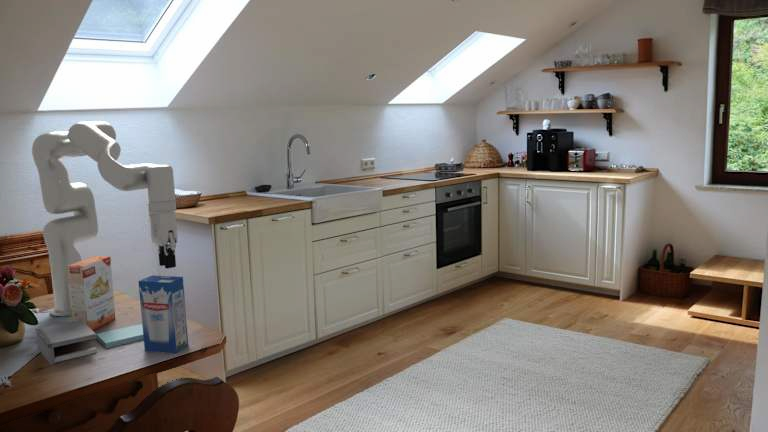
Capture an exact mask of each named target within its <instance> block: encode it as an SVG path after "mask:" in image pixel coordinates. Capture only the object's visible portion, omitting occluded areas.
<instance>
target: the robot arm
mask: <svg viewBox="0 0 768 432" xmlns="http://www.w3.org/2000/svg"><path fill="white" fill-rule="evenodd" d="M116 139H117V133H116V131H115V129H114V127H113V126H112V125H111V124H110V123H108V122H106V121H102V120H99V121H98V120H97V121H95V120H94V121H79V122H77V123H74V124H72V125H71V126H70V127H69V129H68V130H67V131H66V130H63V131H61V130H60V131H59V130H58V131H49V132H44V133H41V134H39V135H37V137H36V138H35V139H34V140H33V143H32V148H31V155H32V158H33V162H34V164H35V166H36V169H37V173H38V176H39V184H40V189H41V197H42V202H43V207H44V208H45V211H46V212H47V213H49V214H50V215H60V214H67V213H68V214H69V213H73V215H70V216H64V217H58V218H55V219H52V220H50V221H48V222H47V223H45V225H44V227H43V229H42V236H43V240H44V242H45V245H46V248H47V252H48V259H49V265H50V266H49V267H50V273H51V281H52V283H51V284H52V292H53V300H54V307H52V308H51V309H50V310H49V311H50V315H52V316H55V317H69V316H70V317H71V307H70V296H69V286H68V275H67V266H68V265H71V264H74V263H77V262H80V261H83V259H82V255H81V254H80V252H79V251H78V249H76V245H79V244H83V243H87V242H90V241H92V240H94V239H95V238H96V237H97V235H98V233H99V223H98V217H97V216H98V215H97V211H96V203H95V198H94V197H95V196H94V194H93V192H92V190H91V188H90V187H89V186H88V185H87V184H86V183H83V182H71V183H70V178H69V172H68V169H67V167H66V166H65V164H63V162H62V161H61V160H60V159H65V158H75V157H85V156H88V157H89V158H90V159H92V160H93V161H94V162H96V163H97V169H98V173H99V175H100V176H101V177H102V179H103V180H104V181H105V182H107V183H108V184H109V185H111V186H112V187H114V188H115V189H117V190H119V191H123V192H131V191H138V190H145V189H147V196H148V206H149V213H150V232H151V234H150V236H151V242H152V243H153V244H156V245H157V252H158V261H159V266H161V267H164V269H171V268H172V269H173V268H176V267H177V261H176V248H177V245H176V244H177V243H178V229H177V222H176V215H175V212H176V211H177V204H176V194H175V179H174V169H173V166H172V165H169V164H154V163H147V162H146V163H137V164H129V165H127V164H126V165H123V164H121V163H119V162H118V161H117V160H118V158H119V157H120V154H121V150H122V149H121V145H120V144H119V142H117V141H116Z"/></svg>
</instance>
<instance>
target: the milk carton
mask: <svg viewBox="0 0 768 432" xmlns="http://www.w3.org/2000/svg"><path fill="white" fill-rule="evenodd" d="M184 286H185V284H184V276H171V275H150V276H147V277H145V278H143V279H141V280H138V291H139V292H138V293H139V301H140V312H141V314H140V315H141V324H142V325H143V336H144V339H143V346H144V351H145V352H152V353H162V354H163V353H164V354H165V353H166V354H178V353H179V352H182V351H183V350H184V349H186V348H187V347H188V346H189V338H188V325H187V312H186V311H187V310H186V301H185V300H186V299H185V288H184Z"/></svg>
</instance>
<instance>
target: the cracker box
mask: <svg viewBox="0 0 768 432" xmlns="http://www.w3.org/2000/svg"><path fill="white" fill-rule="evenodd" d="M111 261H112V260H111V256H107V255H95V256H91V257H89V258H87V259H86V258H85V259H82V261H80V262H77V263H74V264H71V265H68V266H67V275H68V286H69V296H70V307H71V316H70V317H71V322H73V321H78V320H82V321H83V322H84V323H85V324H86V325H87V326H88V327H89V328H90V329H91V330H92V331H93V332H94V331H95V330H96V329H98V328H100V327H103V326H104V325H107V324H108V323H110V322H112V321H114V320H116V311H115V309H116V307H115V298H114V297H115V296H114V288H113V287H114V286H113V284H114V283H113V275H112V274H113V273H112V272H113V271H112V262H111Z"/></svg>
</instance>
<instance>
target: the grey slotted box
mask: <svg viewBox="0 0 768 432" xmlns="http://www.w3.org/2000/svg"><path fill="white" fill-rule="evenodd" d="M35 333H36V335H35V336H36V343H37V348H38V350H39V352H40V353H41V355H43V357H44V358H45V360H46V361H47V362H48V364H49V365H55V364H56V363H58V362H63V361H67V360H71V359H74V358H80V357H83V356H89V355H92V354H97V353H98V351H97V350H98V349H97V347H91V348H87V349H82V350H79V351H74V352H70V353H65V354H61V355H56V356H55V350H54V348H57V347H62V346H67V345H70V344H76V343H79V342H80V343H81V342H83V341H90V340H92V339H97V338H96V334H97V333H96V332H95V331H94V330H93V331H92V330H91V329H90V328H89V327H88V326H87V325H86V324H85V323H84V322H83V321H82V320H78V321H73V322H72V321H69V322H65V323H60V324H55V325H50V326H46V327H45V326H44V327H40V328H35Z"/></svg>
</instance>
